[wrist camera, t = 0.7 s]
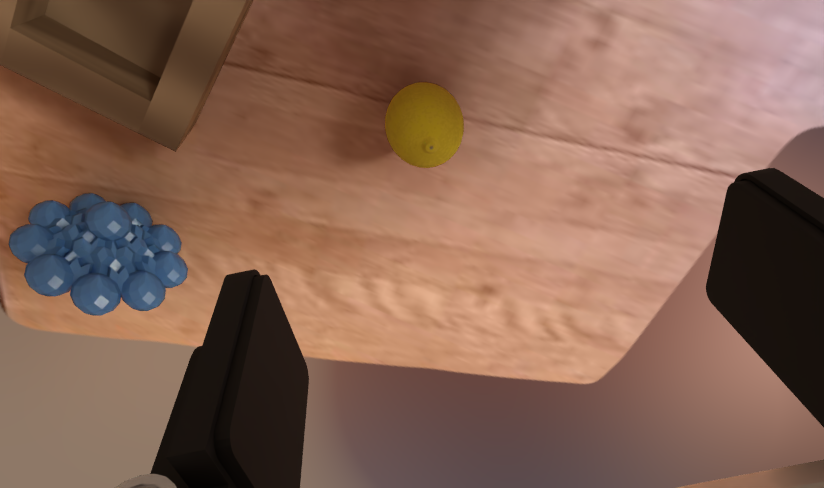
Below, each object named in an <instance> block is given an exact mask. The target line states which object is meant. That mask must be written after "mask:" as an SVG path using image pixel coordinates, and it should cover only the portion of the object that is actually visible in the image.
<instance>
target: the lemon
mask: <svg viewBox="0 0 824 488" xmlns="http://www.w3.org/2000/svg"><path fill="white" fill-rule="evenodd" d="M385 131H386V135H387V139H388V141H389V143H390V145H391V147H392V149H393V150H394V152H395V153H396V154H397V155H398V156H399V157H400V158H401V159H402V160H404V161H405V162H407V163H409V164H410V165H413V166H417V167H422V168H430V167H436V166H438V165H441V164H443V163H445V162H446V161H447V160H449V159H450V158H451V157H452V156H453V155H454V154H455V153H456V151H457V149H458V148H459V146H460V144H461V140H462V136H463V132H464V121H463V116H462V112H461V109H460V106H459V105H458V103H457V101H456V100H455V98H454V97H453V96H452V95H451V94H450V93H449V92H448V91H447V90H446V89H444V88H442V87H440V86H438V85H437V84H432V83H428V82H418V83H414V84H411V85H408V86H406V87H405V88H403V89H401V90H400V91H399V92H398V93H397V94H396V95H395V96H394V97H393V99H392V100H391V102H390V104H389V106H388V109H387V112H386V116H385Z"/></svg>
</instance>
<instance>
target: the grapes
mask: <svg viewBox="0 0 824 488" xmlns="http://www.w3.org/2000/svg"><path fill="white" fill-rule="evenodd" d="M28 220H29V222H30V224H27V225H24V226H21V227H19V228H17V229H16V230H15V231H14V232H13V233H12V234H11V235H10V239H9V247H10V249H11V251H12V253H13V254H14V255H15V256H16V257H17V258H19V259H20V260H21V261H22V262H25V263H28V264H27V265H26V269H25V274H24V276H25V278H26V281H27V283H28V285H29V286H30V287H31V288H32V289H33V290H35V291H36V292H37V293H38V294H41V295H45V296H59V295H62V294H64V293H67V292H69V291H70V290H71V292H70V296H71V298H72V300H73V303H74V305H75V306H76V307H78V308H79V309H80V310H81V311H83V312H84V313H86V314H90V315H103V314H106V313H108V312H111V311H113V310H114V309H115V308H116V307H117V306H118V305H119V303H120V299H121V297H122V300H123V301H124V302H125V303H126V304H128V305H129V306H130V307H131V308H133V309H136V310H139V311H148V310H151V309H153V308H156V307H158V306H159V305H160V304H161V303H162V302H163V300H164V299H165V292H166V289H165V288H172V287H175V286H178V285H180V284H182V283H183V281H184V280H185V279H186V278H187V272H188V268H187V266H186V263H185V261H184V260H183V259H182V258H181V257H180V256H179V255H178V252H179V251H180V250H181V240H180V238H179V236H178V234H177V233H176V232H175V231H174V230H173V229H172V228H170V227H168V226H167V225H162V224H159V225H153V226H152V221H153V220H152V218H151V216H150V214H149V212H148V211H147V210H146V209H145V208H144V207H142V206H140V205H139V204H136V203H125V204H122V205H120V206H119V205H118V204H116V203H114V202H109V201H107V202H106V201H105V200H104V199H103V198H102V197H100V196H98V195H96V194H93V193H87V194H82V195H80V196H77V197H76V198H75V199H74V200H73V201H71V202H70V207H69V208H68V207H67V206H65V205H64V204H62V203H59V202H57V201H53V200H50V201H44V202H41V203H38V204H36V205H35V206H34V207H33V208H32V209H31V210H30V213H29V218H28Z"/></svg>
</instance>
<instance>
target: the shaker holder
mask: <svg viewBox="0 0 824 488" xmlns="http://www.w3.org/2000/svg"><path fill="white" fill-rule="evenodd" d="M252 2H253V0H0V65H1V66H3V67H5V68H7V69H9V70H11V71H13V72H15V73H17V74H20V75H22V76H24V77H26V78H28V79H30V80H32V81H34V82H36V83H38V84H40V85H42V86H44V87H46V88H48V89H50V90H52V91H54V92H56V93H58V94H60V95H62V96H64V97H66V98H68V99H70V100H72V101H74V102H76V103H78V104H80V105H82V106H84V107H86V108H88V109H90V110H92V111H94V112H96V113H98V114H100V115H102V116H104V117H107V118H109V119H111V120H113V121H115V122H117V123H119V124H121V125H123V126H125V127H127V128H129V129H131V130H133V131H135V132H137V133H139V134H141V135H143V136H145V137H147V138H149V139H151V140H153V141H155V142H157V143H159V144H161V145H163V146H165V147H167V148H169V149H171V150H173V151H175V152H176V151H177V149H178V148H179V146H180V145H181V143H182V142H183V141H184V139H185V138H186V136H187V135H188V133H189V132H190V131H191V129H192V128H193V126H194V125H195V123H196V120H197V118H198V116H199V114H200V112H201V110H202V108H203V106H204V104H205V101H206V99H207V97H208V95H209V93H210V91H211V89H212V87H213V84H214V82H215V80H216V78H217V76H218V74H219V72H220V70H221V68H222V65H223V63H224V61H225V59H226V57H227V55H228V53H229V51H230V49H231V46H232V44H233V42H234V40H235V38H236V36H237V34H238V32H239V29H240V27H241V25H242V23H243V21H244V19H245V17H246V15H247V13H248V10H249V8H250V6H251V4H252Z"/></svg>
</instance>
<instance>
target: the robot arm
mask: <svg viewBox="0 0 824 488" xmlns="http://www.w3.org/2000/svg"><path fill="white" fill-rule="evenodd" d="M706 292H707V296H708V298H709V300H710V301H711V303H712V304H713V305H714V306H715V307H716V309H717V310H718V311H719V312H720V313H721V314H722V315H723V316H724V317H725V318H726V320H727V321H728V322H729V323H730V324H731V325H732V326H733V327H734V329H735V330H736V331H737V332H738V333H739V334H740V335H741V336H742V337H743V338H744V339H745V341H746V342H747V343H748V344H749V345H750V346H751V347H752V348H753V349H754V351H755V352H756V353H757V354H758V355H759V356H760V357H761V358H762V359H763V361H764V362H765V363H766V364H767V365H768V366H769V367H770V368H771V369H772V371H773V372H774V373H775V374H776V375H777V376H778V377H779V378H780V379H781V381H782V382H783V383H784V384H785V385H786V386H787V387H788V388H789V389H790V390H791V392H792V393H793V394H794V395H795V396H796V397H797V398H798V399H799V400H800V401H801V403H802V404H803V405H804V406H805V407H806V408H807V409H808V410H809V411H810V412H811V414H812V415H813V416H814V417H815V418H816V419H817V420H818V421H819V422H820V424H821V425H822V426H823V427H824V198H823V197H821V196H819V195H818V194H816V193H815V192H813V191H811V190H810V189H808V188H807V187H805V186H803V185H802V184H800V183H799V182H797V181H795V180H794V179H792V178H790V177H789V176H787V175H786V174H784V173H783V172H781V171H779V170H777V169H775V168H768V169H763V170H758V171H753V172H748V173H743V174H741V175H739V176H738V177H737V178H736V179H735V182H734V183H732V184H730V186H729V187H728V189H727V193H726V198H725V202H724V207H723V211H722V216H721V220H720V225H719V229H718V234H717V239H716V244H715V248H714V252H713V257H712V261H711V266H710V270H709V275H708V279H707V284H706ZM308 383H309V376H308V369H307V365H306V362H305V360H304V358H303V355H302V353H301V350H300V348H299V346H298V343H297V341H296V339H295V336H294V334H293V331H292V329H291V327H290V324H289V322H288V319H287V317H286V315H285V312H284V310H283V308H282V305H281V303H280V300H279V298H278V296H277V293H276V291H275V288H274V286H273V284H272V281H271V279H270V277H269V276H268V275H261V276H260V274H259V272H258V271H257V270H249V271H244V272H239V273H234V274H229V275H227V276H226V277H225V279H224V282H223V285H222V288H221V291H220V294H219V297H218V300H217V303H216V306H215V309H214V312H213V315H212V318H211V321H210V324H209V327H208V330H207V333H206V336H205V339H204V343H203V346H200V347H197V348H196V349H195V350H194V352H193V354H192V356H191V358H190V361H189V364H188V367H187V369H186V372H185V375H184V378H183V381H182V384H181V387H180V390H179V393H178V396H177V399H176V401H175V404H174V407H173V410H172V413H171V416H170V419H169V422H168V424H167V428H166V430H165V433H164V436H163V439H162V442H161V445H160V447H159V450H158V453H157V456H156V459H155V462H154V465H153V468H152V471H151V473H150V474H147V475H140V476H137V477H135V478H132V479H130V480H127V481H124V482H123V483H121V484H120V485H118V486H117V487H115V488H300V479H301V467H302V455H303V443H304V431H305V419H306V407H307V395H308ZM677 488H824V460H820V461H815V462H809V463H804V464H798V465H793V466H788V467H783V468H777V469H772V470H766V471H761V472H756V473H750V474H745V475H740V476H735V477H729V478H724V479H719V480H714V481H708V482H703V483H698V484H693V485H688V486H682V487H677Z"/></svg>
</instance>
